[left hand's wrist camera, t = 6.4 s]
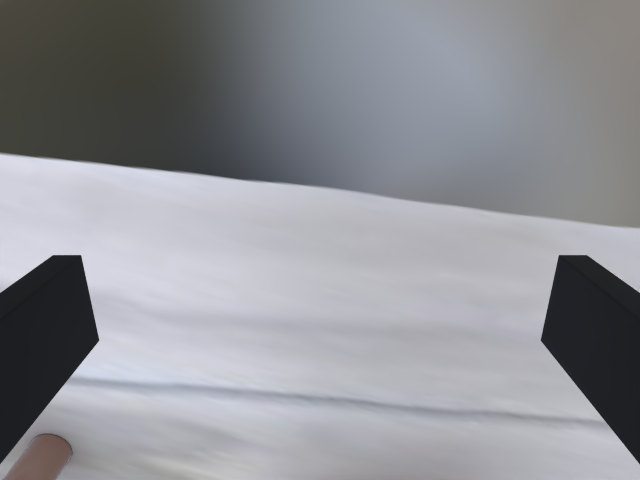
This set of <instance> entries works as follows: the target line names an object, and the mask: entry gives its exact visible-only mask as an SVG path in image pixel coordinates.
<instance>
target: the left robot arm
mask: <svg viewBox="0 0 640 480" xmlns="http://www.w3.org/2000/svg"><path fill="white" fill-rule="evenodd" d="M98 341H99V337H98V333H97V328H96V323H95V319H94V314H93V309H92V304H91V300H90V295H89V290H88V286H87V281H86V276H85V272H84V267H83V262H82V258H81V255H53V256H51V257H50V258H49V259H47V260H46V261H44V262H43V263H42V264H40V265H39V266H37V267H36V268H35V269H33V270H32V271H30V272H29V273H28V274H26V275H25V276H23V277H22V278H21V279H19V280H18V281H16V282H15V283H14V284H12V285H11V286H9V287H8V288H7V289H5V290H4V291H2V292H1V293H0V464H1V462H2V461H3V460H4V459H5V457H6V456H7V455H8V454H9V452H10V451H11V450H12V449H13V448H14V446H15V445H16V444H17V443H18V441H19V440H20V439H21V438H22V436H23V435H24V434H25V433H26V431H27V430H28V429H29V428H30V426H31V425H32V424H33V423H34V421H35V420H36V419H37V418H38V416H39V415H40V414H41V413H42V411H43V410H44V409H45V408H46V406H47V405H48V404H49V403H50V401H51V400H52V399H53V398H54V396H55V395H56V394H57V393H58V391H59V390H60V389H61V388H62V386H63V385H64V384H65V383H66V381H67V380H68V379H69V378H70V376H71V375H72V374H73V373H74V371H75V370H76V369H77V368H78V366H79V365H80V364H81V363H82V361H83V360H84V359H85V358H86V356H87V355H88V354H89V353H90V351H91V350H92V349H93V348H94V346H95V345H96V344H97V343H98ZM541 341H542V343H543V344H544V345H545V346H546V348H547V349H548V350H549V351H550V353H551V354H552V355H553V356H554V358H555V359H556V360H557V361H558V363H559V364H560V365H561V366H562V368H563V369H564V370H565V371H566V373H567V374H568V375H569V376H570V378H571V379H572V380H573V381H574V383H575V384H576V385H577V386H578V388H579V389H580V390H581V391H582V393H583V394H584V395H585V396H586V398H587V399H588V400H589V401H590V403H591V404H592V405H593V406H594V408H595V409H596V410H597V411H598V413H599V414H600V415H601V416H602V418H603V419H604V420H605V421H606V423H607V424H608V425H609V426H610V428H611V429H612V430H613V431H614V433H615V434H616V435H617V436H618V438H619V439H620V440H621V441H622V443H623V444H624V445H625V446H626V448H627V449H628V450H629V451H630V452H631V454H632V455H633V456H634V457H635V459H636V460H637V461H638V462H639V464H640V293H639V292H638V291H636V290H635V289H633V288H632V287H631V286H629V285H628V284H626V283H625V282H624V281H622V280H621V279H619V278H618V277H617V276H615V275H614V274H612V273H611V272H610V271H608V270H607V269H605V268H604V267H603V266H601V265H600V264H598V263H597V262H596V261H594V260H593V259H591V258H590V257H589V256H587V255H559V258H558V262H557V267H556V272H555V276H554V281H553V286H552V290H551V295H550V300H549V304H548V309H547V314H546V319H545V323H544V328H543V333H542V337H541Z"/></svg>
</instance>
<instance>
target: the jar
mask: <svg viewBox="0 0 640 480" xmlns="http://www.w3.org/2000/svg"><path fill="white" fill-rule="evenodd" d="M71 456H72V450H71V447H70V445H69V444H68V443H67V442H66V441H65V440H64V439H62V438H60V437H58V436H55V435H51V434H43V435H39V436H37V437H35V438H34V439H33V440H32V441H31V443H30V444H29V445H28V446H27V448H26V449H25V450H24V452H23V453H22V454H21V456H20V457H19V458H18V459H17V461H16V462H15V463H14V465H13V466H12V467H11V469H10V470H9V471H8V473H7V474H6V475H5V476H4V478H3V479H2V480H57V479H58V477H59V476H60V474H61V473H62V471H63V469H64V468H65V466H66V465H67V463H68V462H69V460H70V458H71Z"/></svg>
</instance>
